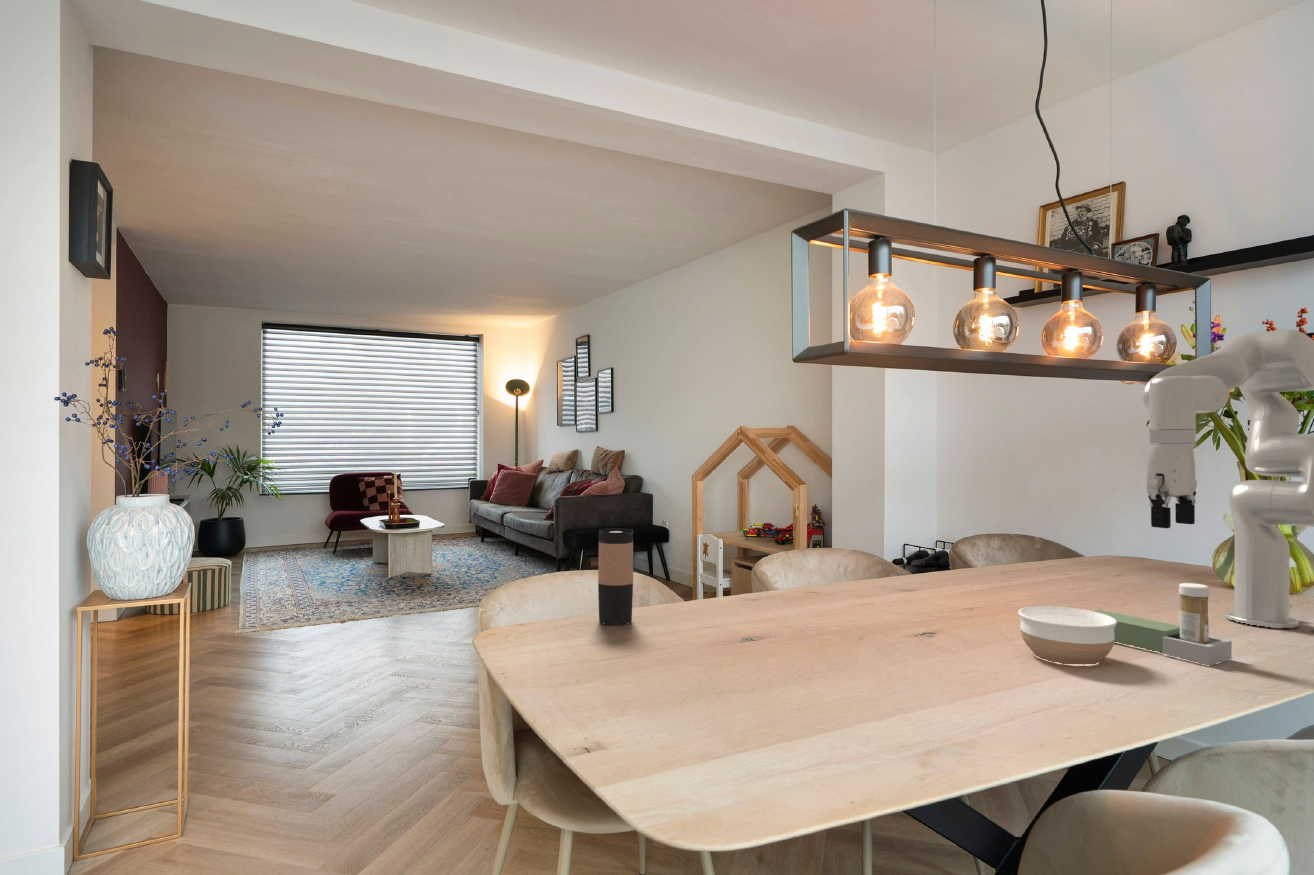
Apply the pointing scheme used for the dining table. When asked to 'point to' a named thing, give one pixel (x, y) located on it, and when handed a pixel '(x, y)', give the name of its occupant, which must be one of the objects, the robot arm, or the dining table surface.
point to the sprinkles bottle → (1194, 613)
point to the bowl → (1067, 634)
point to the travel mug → (615, 576)
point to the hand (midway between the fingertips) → (1173, 525)
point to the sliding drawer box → (1167, 640)
